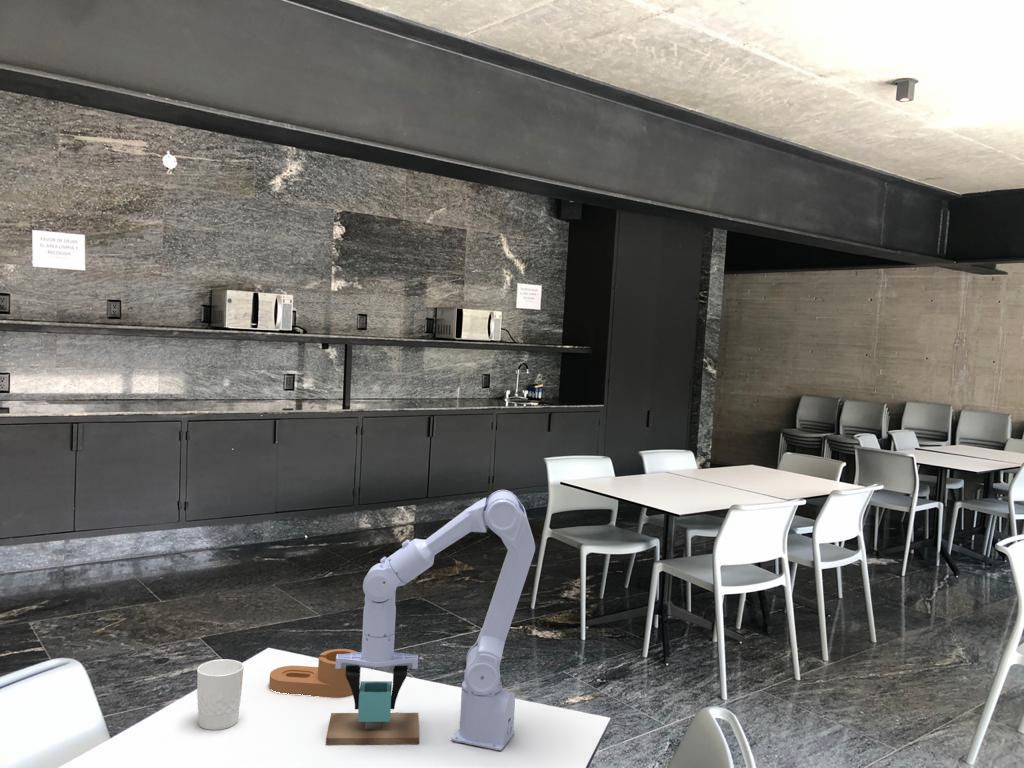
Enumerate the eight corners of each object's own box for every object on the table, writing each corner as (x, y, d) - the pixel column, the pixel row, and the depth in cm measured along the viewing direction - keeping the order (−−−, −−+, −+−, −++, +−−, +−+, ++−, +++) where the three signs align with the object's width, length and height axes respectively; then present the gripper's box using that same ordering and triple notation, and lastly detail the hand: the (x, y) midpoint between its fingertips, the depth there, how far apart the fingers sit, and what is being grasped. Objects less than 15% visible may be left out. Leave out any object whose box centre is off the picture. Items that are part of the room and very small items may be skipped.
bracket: (363, 683, 169) (364, 650, 169) (353, 700, 160) (355, 665, 160) (277, 677, 169) (278, 644, 169) (263, 693, 161) (264, 659, 161)
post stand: (418, 719, 153) (419, 686, 153) (418, 744, 143) (420, 709, 143) (330, 719, 151) (332, 686, 151) (325, 745, 141) (327, 709, 141)
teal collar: (390, 708, 150) (391, 681, 150) (389, 721, 145) (391, 693, 145) (359, 708, 150) (360, 681, 150) (357, 721, 144) (359, 693, 144)
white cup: (222, 735, 143) (224, 678, 142) (185, 726, 145) (187, 670, 145) (250, 717, 150) (252, 663, 150) (214, 709, 153) (217, 656, 152)
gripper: (419, 625, 152) (415, 697, 152) (339, 624, 150) (335, 697, 150) (419, 638, 145) (415, 714, 145) (336, 637, 143) (332, 714, 143)
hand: (374, 707), depth 147 cm, fingers closed on teal collar, 6 cm apart
